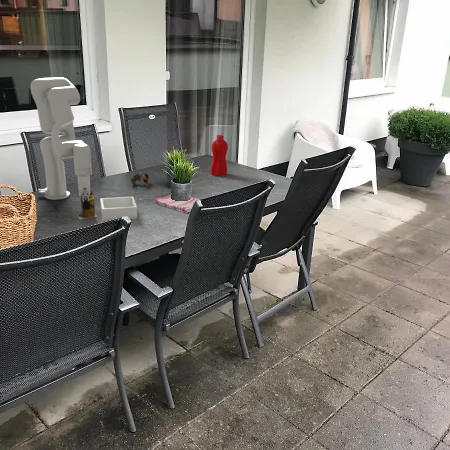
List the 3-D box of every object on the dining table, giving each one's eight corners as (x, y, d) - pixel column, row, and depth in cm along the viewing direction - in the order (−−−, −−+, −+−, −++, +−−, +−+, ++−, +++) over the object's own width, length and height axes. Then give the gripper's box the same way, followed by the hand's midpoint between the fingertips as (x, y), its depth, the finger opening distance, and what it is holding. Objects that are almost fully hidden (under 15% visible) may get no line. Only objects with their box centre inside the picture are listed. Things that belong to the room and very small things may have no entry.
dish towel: (176, 195, 259) (176, 189, 257) (209, 206, 246) (209, 199, 245) (154, 204, 246) (153, 197, 245) (188, 215, 234) (188, 208, 232)
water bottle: (207, 175, 294) (208, 135, 284) (216, 171, 303) (217, 132, 293) (219, 178, 290) (220, 137, 280) (228, 174, 298) (230, 134, 289)
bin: (102, 221, 221) (102, 209, 218) (101, 209, 234) (100, 198, 232) (137, 218, 225) (136, 207, 223) (133, 207, 238) (133, 196, 236)
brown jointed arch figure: (144, 190, 266) (136, 177, 263) (133, 193, 271) (125, 182, 268) (155, 179, 274) (148, 167, 271) (144, 183, 280) (137, 171, 277)
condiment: (97, 216, 226) (96, 193, 221) (80, 219, 221) (78, 195, 217) (92, 211, 231) (91, 188, 227) (75, 214, 227) (73, 191, 222)
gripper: (74, 166, 224) (77, 200, 231) (74, 176, 209) (78, 212, 215) (91, 165, 226) (93, 199, 233) (92, 175, 211) (95, 211, 217)
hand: (86, 205), depth 224 cm, fingers open, 9 cm apart
